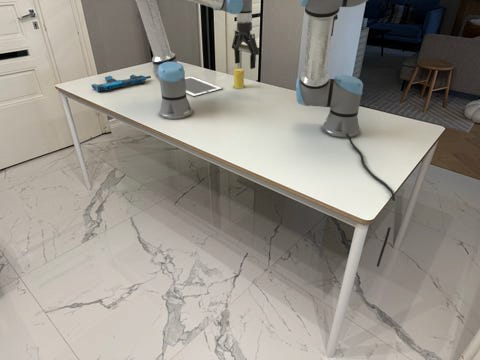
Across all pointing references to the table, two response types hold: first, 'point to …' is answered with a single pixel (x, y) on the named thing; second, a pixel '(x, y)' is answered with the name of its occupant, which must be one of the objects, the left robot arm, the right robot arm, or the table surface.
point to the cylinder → (238, 78)
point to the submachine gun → (119, 82)
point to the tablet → (198, 86)
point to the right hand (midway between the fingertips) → (323, 33)
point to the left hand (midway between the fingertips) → (244, 65)
